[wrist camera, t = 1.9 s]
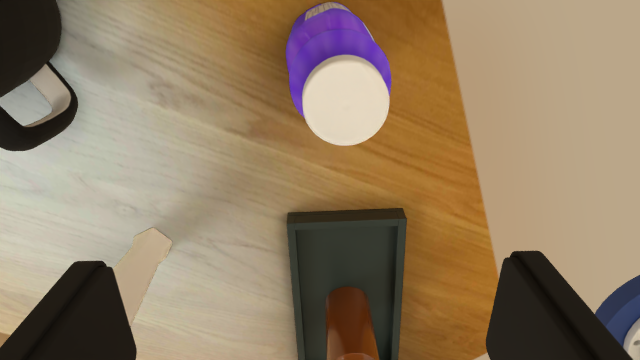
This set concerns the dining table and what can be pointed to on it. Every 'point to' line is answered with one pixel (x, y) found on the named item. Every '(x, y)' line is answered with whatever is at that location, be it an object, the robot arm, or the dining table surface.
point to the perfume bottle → (140, 268)
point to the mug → (32, 70)
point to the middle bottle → (349, 326)
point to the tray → (347, 271)
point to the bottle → (337, 75)
